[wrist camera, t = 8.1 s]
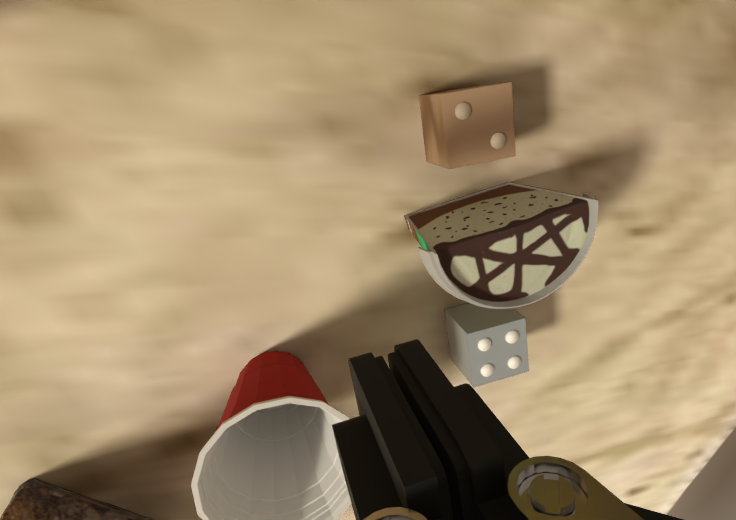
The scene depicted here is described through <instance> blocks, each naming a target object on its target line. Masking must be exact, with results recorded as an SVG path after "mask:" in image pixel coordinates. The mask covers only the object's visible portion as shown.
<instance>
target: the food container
mask: <svg viewBox="0 0 736 520" xmlns="http://www.w3.org/2000/svg"><path fill="white" fill-rule="evenodd" d="M404 217H405V220H406V223H407V226H408V228H409V230H410V231H411V233H412V234H413V235H414V237H415V238H416V240H417V241H418V242H419V244H420V245H421V247H422V248H421V247H419V248H418V251H419V254H420V257H421V260H422V262H423V264H424V266H425V267H426V269H427V271H428V273H429V274H430V275H431V277H432V278H433V279H434V281H435V282H436V283H437V284H438V285H439V286H441V287H442V288H443V289H444V290H445V291H446V292H448V293H450V294H451V295H453V296H454V297H456V298H459V299H461V300H464V301H466V302H469V303H471V304H474V305H476V306H480V307H485V308H493V309H508V308H516V307H521V306H525V305H529V304H532V303H534V302H536V301H539V300H541V299H543V298H545V297H546V296H548V295H550V294H551V293H553V292H554V291H556V290H557V289H558V288H559V287H561V286H562V285H563V284H564V283H565V282H566V281H567V280H568V279H569V278H570V277H571V276H572V275H573V274H574V273H575V271H576V270H577V269H578V267H579V266H580V265H581V263H582V262H583V260H584V258H585V256H586V254H587V253H588V251H589V248H590V246H591V243H592V241H593V238H594V235H595V231H596V227H597V220H598V200H597V199H595V197H594V196H592V195H590V194H588V193H586V192H585V193H583V196H578V195H573V194H568V193H563V192H558V191H552V190H547V189H542V188H537V187H532V186H527V185H522V184H517V183H511V182H507V183H504V184H501V185H498V186H495V187H492V188H489V189H485V190H482V191H479V192H476V193H473V194H470V195H467V196H464V197H460V198H457V199H454V200H451V201H448V202H445V203H442V204H439V205H435V206H432V207H429V208H426V209H423V210H420V211H417V212H414V213H411V214H407V215H404Z"/></svg>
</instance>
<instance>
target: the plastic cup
mask: <svg viewBox="0 0 736 520" xmlns="http://www.w3.org/2000/svg"><path fill="white" fill-rule="evenodd" d="M345 420H349V417H347V416H346V415H344V414H343V413H341V412H339V411H338V410H336V409H334V408H333V407H331V406H330V405H329V404H328V403H327V401H326V399H325V398H324V396H323V394H322V393H321V391H320V389H319V388H318V386H317V385H316V383H315V382H314V380H313V378H312V377H311V375H310V374H309V372H308V370H307V369H306V367H305V366H304V364H303V363H302V362H301V361H300V360H299V359H297V358H296V357H294V356H293V355H291V354H290V353H285V352H279V351H273V352H267V353H262V354H260V355H259V356H257V357H255V358H253V359H251V360H250V362H249V363H248V364H247V365H246V366H245V368H244V369H243V370H242V371H241V373H240V375H239V378H238V380H237V383H236V386H235V387H234V388H233V390H232V393H231V395H230V398H229V400H228V403H227V406H226V408H225V411H224V414H223V416H222V419H221V421H220V424H219V426H218V427H217V428H216V431H215V433H214V434H213V436H212V437H211V438H210V439H209V441H208V442H207V443H206V444H205V446H204V447H203V448H202V450H201V451H200V453H199V457H198V460H197V464H196V468H195V471H194V475H193V479H192V482H191V488H192V492H193V497H194V502H195V506H196V511H197V514H198V516H199V517H200V518H201V519H202V520H339V519H340V517H341V516H342V515H343V514H344V512H345V511H346V510H347V509H348V507H349V506H350V505H351V504H352V503H351V499H350V496H349V492H348V489H347V485H346V481H345V477H344V474H343V470H342V466H341V462H340V458H339V454H338V450H337V445H336V441H335V437H334V433H333V428H332V424H336V423H339V422H342V421H345Z"/></svg>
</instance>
